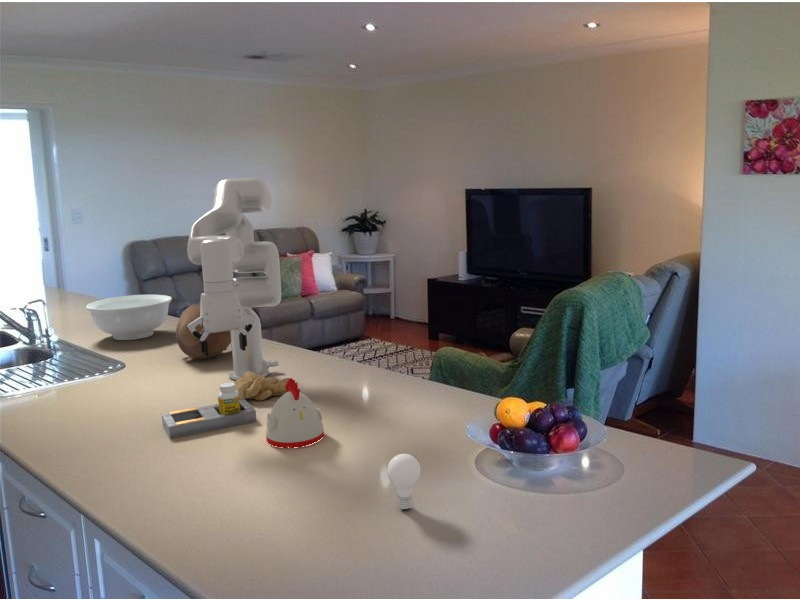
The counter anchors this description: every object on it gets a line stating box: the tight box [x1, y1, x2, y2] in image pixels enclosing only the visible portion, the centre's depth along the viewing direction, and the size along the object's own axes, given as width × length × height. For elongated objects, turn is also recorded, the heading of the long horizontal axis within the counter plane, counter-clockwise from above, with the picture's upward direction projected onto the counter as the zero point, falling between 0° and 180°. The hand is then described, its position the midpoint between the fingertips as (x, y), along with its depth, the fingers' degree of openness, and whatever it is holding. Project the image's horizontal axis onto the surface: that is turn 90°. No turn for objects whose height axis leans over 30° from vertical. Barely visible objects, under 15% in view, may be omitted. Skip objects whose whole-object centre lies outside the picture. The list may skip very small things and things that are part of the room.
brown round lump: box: [175, 302, 231, 359], centre depth 260 cm, size 20×20×30 cm
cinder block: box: [160, 399, 257, 439], centre depth 190 cm, size 22×11×3 cm, turn 117°
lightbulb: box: [386, 453, 422, 510], centre depth 138 cm, size 6×6×11 cm
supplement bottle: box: [217, 382, 240, 415], centre depth 192 cm, size 5×5×10 cm
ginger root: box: [233, 371, 290, 401], centre depth 210 cm, size 16×16×8 cm
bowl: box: [85, 294, 173, 341], centre depth 294 cm, size 32×32×15 cm
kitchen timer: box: [265, 377, 325, 448], centre depth 176 cm, size 14×14×15 cm
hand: (224, 352), depth 189 cm, fingers open, 9 cm apart
